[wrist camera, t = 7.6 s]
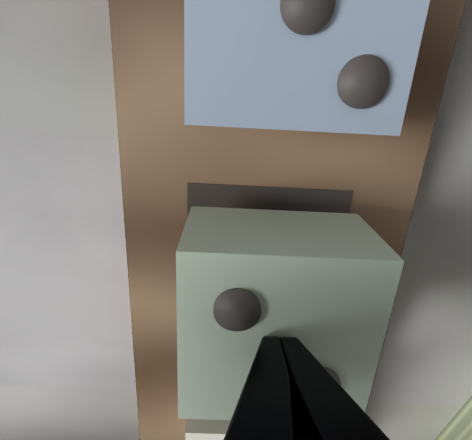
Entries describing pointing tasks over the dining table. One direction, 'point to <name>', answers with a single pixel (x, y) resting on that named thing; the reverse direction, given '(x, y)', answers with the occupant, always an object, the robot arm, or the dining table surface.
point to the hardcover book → (459, 425)
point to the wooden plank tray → (240, 174)
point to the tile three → (301, 63)
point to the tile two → (278, 299)
